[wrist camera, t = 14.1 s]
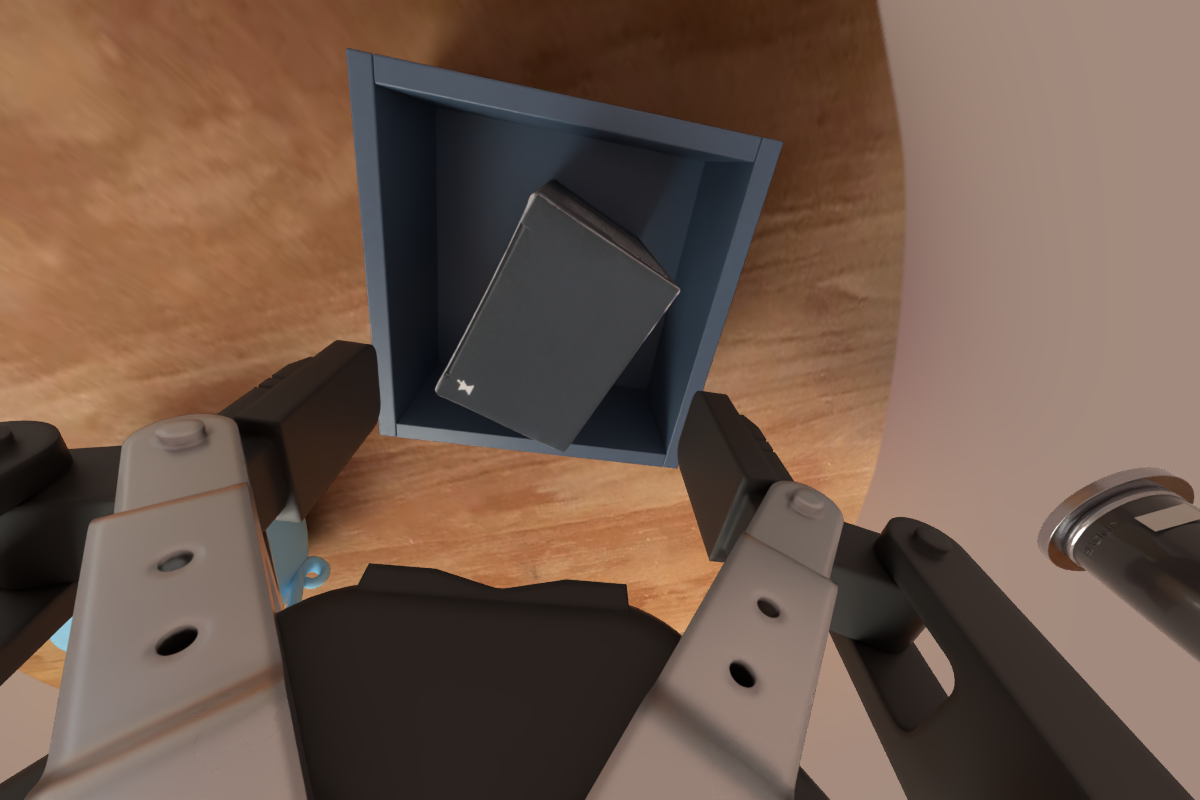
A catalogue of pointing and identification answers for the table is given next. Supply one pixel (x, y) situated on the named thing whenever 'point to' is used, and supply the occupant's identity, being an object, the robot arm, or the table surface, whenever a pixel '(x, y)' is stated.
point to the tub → (491, 215)
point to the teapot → (288, 562)
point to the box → (557, 320)
